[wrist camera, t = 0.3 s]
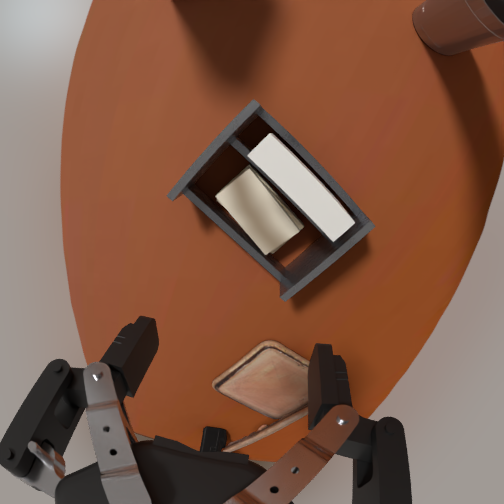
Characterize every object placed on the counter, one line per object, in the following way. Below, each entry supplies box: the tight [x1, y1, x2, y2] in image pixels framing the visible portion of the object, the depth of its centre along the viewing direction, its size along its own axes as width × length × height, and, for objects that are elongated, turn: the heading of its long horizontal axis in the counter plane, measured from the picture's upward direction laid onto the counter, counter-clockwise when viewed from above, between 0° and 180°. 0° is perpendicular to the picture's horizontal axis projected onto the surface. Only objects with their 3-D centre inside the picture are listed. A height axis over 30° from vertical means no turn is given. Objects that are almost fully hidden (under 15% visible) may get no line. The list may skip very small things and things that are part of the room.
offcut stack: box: [215, 164, 304, 255], centre depth 37 cm, size 6×11×4 cm, turn 42°
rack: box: [167, 99, 375, 301], centre depth 35 cm, size 15×20×7 cm
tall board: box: [247, 133, 355, 242], centre depth 31 cm, size 3×12×12 cm, turn 47°
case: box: [212, 340, 310, 452], centre depth 46 cm, size 20×21×16 cm
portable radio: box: [200, 427, 227, 452], centre depth 53 cm, size 8×6×25 cm
